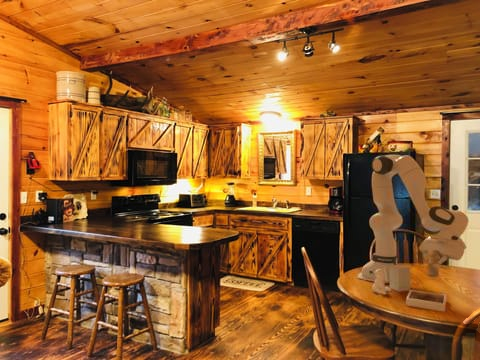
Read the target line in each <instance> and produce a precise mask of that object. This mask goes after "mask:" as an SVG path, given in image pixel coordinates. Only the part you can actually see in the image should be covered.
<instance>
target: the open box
mask: <svg viewBox="0 0 480 360" xmlns="http://www.w3.org/2000/svg"><path fill="white" fill-rule="evenodd" d="M413 292H416V293H423V294H430V295H437V296H443V303H437V302H431V301H424V300H418V299H411V295H412V293H413ZM405 303H406V304H405V305H406V306H408V307H416V308H419V309H427V310H432V311H438V312H445V311H446V304H447V294H443V293H439V292H436V293H435V292H432V291H431V292H430V291H423V290H415V289H410V291H408V293H407V296H406V298H405Z"/></svg>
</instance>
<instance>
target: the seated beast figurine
mask: <svg viewBox="0 0 480 360" xmlns="http://www.w3.org/2000/svg"><path fill="white" fill-rule="evenodd" d="M374 273H375V275H376V277H377V278H376V279H375V282H373V284H372V285H371V290H372V291H373V292H374V293H375V294H378V295H380V294H381V295H387V292H392V289H391V288H390V287H388V286H386V285H385V284H386V283H384V280H383V279H384V274H383V272H382V269H379V270H376V271H374Z"/></svg>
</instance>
